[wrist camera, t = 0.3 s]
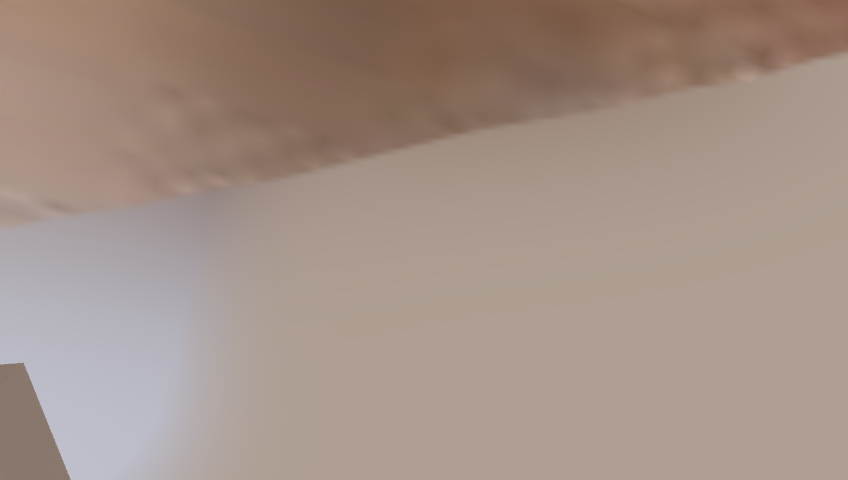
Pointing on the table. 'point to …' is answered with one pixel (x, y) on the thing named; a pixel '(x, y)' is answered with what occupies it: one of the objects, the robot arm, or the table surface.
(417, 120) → the table surface
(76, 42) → the table surface
